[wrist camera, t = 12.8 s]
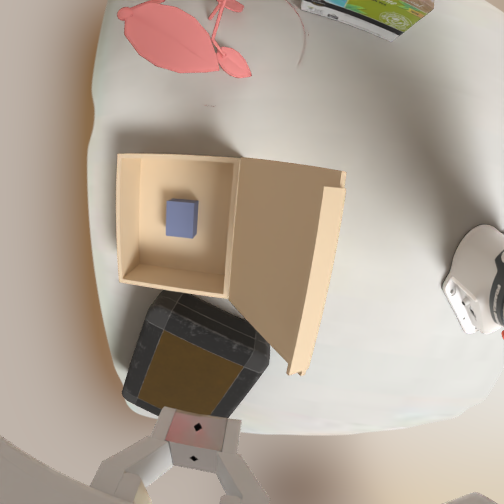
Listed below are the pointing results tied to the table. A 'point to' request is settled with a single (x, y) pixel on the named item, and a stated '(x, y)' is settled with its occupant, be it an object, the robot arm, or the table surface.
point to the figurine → (180, 39)
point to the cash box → (194, 358)
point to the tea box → (373, 14)
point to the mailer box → (154, 221)
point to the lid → (285, 252)
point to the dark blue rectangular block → (181, 218)
